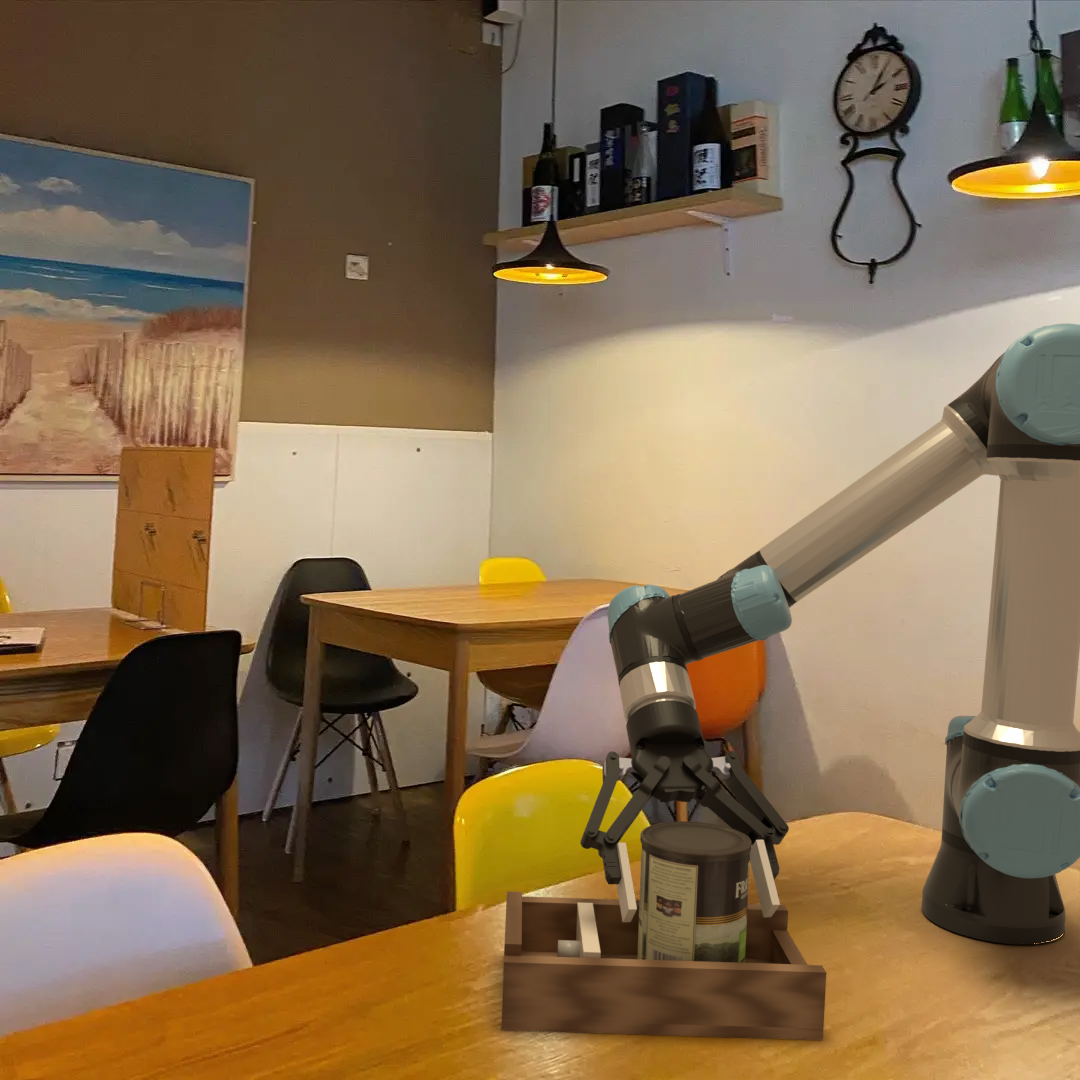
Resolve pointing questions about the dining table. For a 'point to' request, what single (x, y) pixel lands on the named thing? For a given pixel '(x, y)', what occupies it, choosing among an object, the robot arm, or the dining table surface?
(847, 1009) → the dining table surface
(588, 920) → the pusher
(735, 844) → the coffee can
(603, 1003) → the wooden tray
